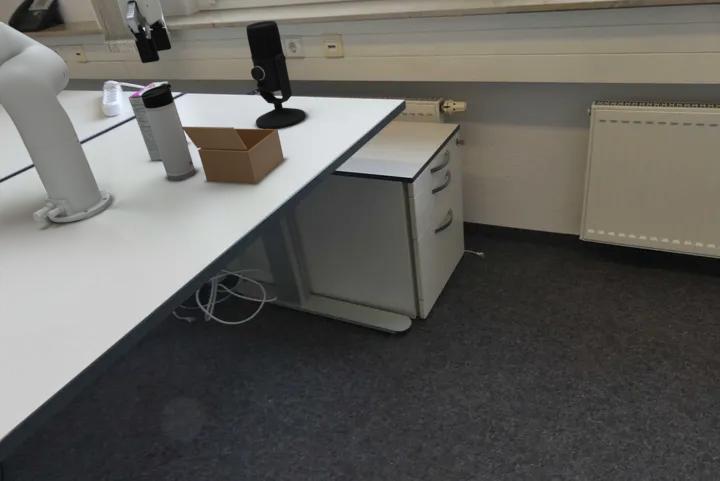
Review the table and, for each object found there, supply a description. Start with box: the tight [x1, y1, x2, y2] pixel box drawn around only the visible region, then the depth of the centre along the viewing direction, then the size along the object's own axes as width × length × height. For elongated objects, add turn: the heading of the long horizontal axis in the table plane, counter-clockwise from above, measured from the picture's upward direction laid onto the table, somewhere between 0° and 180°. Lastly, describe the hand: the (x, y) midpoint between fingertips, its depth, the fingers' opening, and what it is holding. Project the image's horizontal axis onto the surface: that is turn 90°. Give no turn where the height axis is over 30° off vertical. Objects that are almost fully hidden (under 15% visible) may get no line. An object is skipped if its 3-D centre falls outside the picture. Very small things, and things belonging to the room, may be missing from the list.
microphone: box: [245, 20, 307, 130], centre depth 148 cm, size 14×14×25 cm
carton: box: [197, 128, 285, 185], centre depth 126 cm, size 13×13×7 cm
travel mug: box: [141, 83, 196, 181], centre depth 125 cm, size 6×7×20 cm
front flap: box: [182, 126, 247, 150], centre depth 116 cm, size 6×12×1 cm
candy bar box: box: [128, 81, 188, 162], centre depth 140 cm, size 11×5×16 cm, turn 168°
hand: (157, 55), depth 108 cm, fingers open, 9 cm apart
